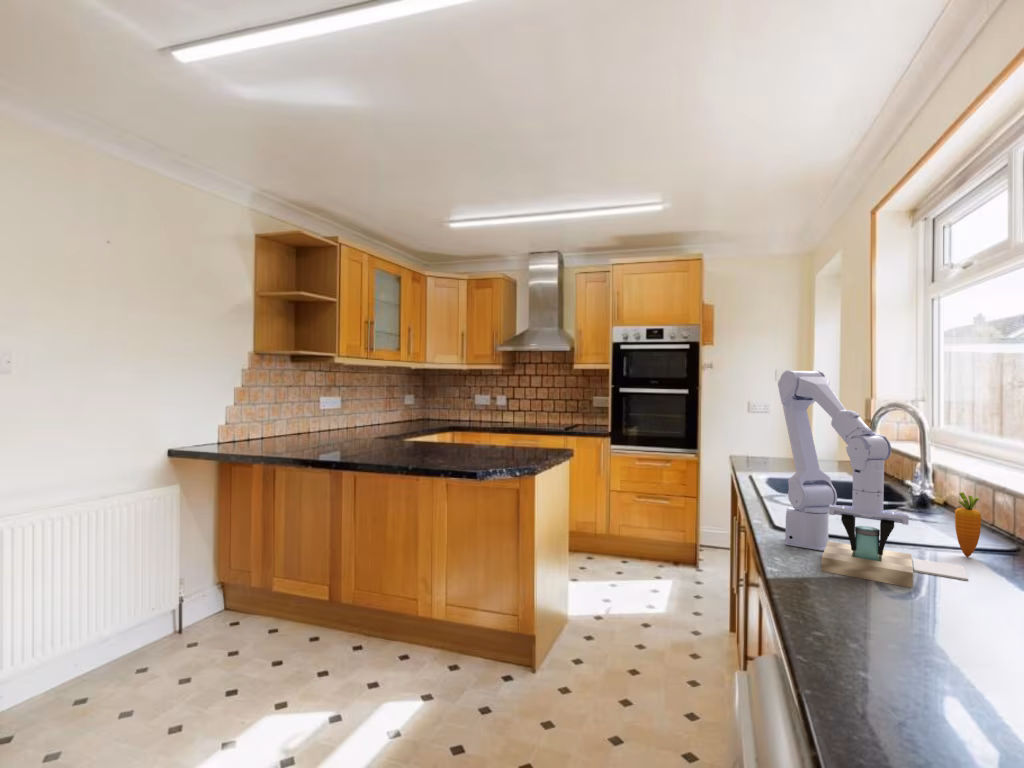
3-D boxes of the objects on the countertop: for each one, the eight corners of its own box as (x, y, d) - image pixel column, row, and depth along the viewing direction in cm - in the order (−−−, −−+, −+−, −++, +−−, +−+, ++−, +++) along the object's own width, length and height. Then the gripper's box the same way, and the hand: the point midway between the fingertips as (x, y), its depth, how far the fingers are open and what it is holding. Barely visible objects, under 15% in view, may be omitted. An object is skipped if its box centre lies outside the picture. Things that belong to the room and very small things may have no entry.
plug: (853, 570, 119) (854, 529, 118) (855, 564, 122) (855, 524, 122) (878, 574, 116) (879, 532, 116) (879, 568, 120) (879, 528, 119)
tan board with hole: (821, 570, 118) (821, 557, 118) (827, 553, 129) (828, 541, 129) (912, 587, 109) (912, 572, 109) (911, 567, 120) (911, 554, 120)
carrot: (986, 561, 125) (987, 496, 125) (961, 559, 126) (962, 495, 126) (972, 554, 130) (973, 491, 129) (948, 552, 131) (950, 490, 130)
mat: (914, 571, 118) (914, 569, 118) (913, 560, 125) (913, 558, 125) (968, 580, 113) (968, 578, 113) (963, 568, 120) (963, 566, 120)
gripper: (827, 488, 120) (827, 550, 120) (909, 497, 111) (908, 563, 112) (831, 483, 126) (830, 542, 126) (908, 491, 117) (907, 554, 117)
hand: (866, 551), depth 119 cm, fingers closed on plug, 4 cm apart
